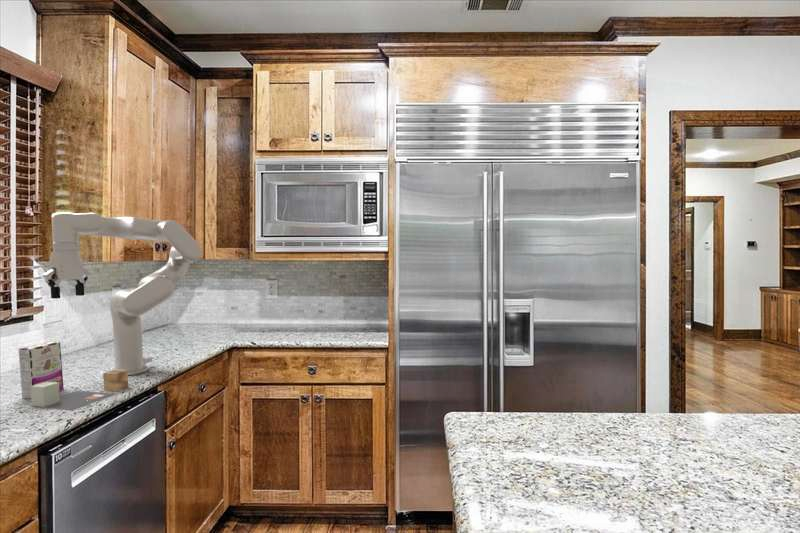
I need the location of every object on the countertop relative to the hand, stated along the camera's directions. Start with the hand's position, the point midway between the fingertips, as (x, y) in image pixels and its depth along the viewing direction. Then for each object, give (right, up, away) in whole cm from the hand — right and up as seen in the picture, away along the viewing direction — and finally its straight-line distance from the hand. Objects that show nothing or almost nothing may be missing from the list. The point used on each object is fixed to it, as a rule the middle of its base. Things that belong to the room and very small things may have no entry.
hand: (68, 296), depth 172 cm
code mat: (+15, -31, -18) cm, 39 cm away
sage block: (+8, -32, -22) cm, 39 cm away
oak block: (+21, -31, -7) cm, 38 cm away
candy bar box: (-1, -32, -10) cm, 33 cm away
